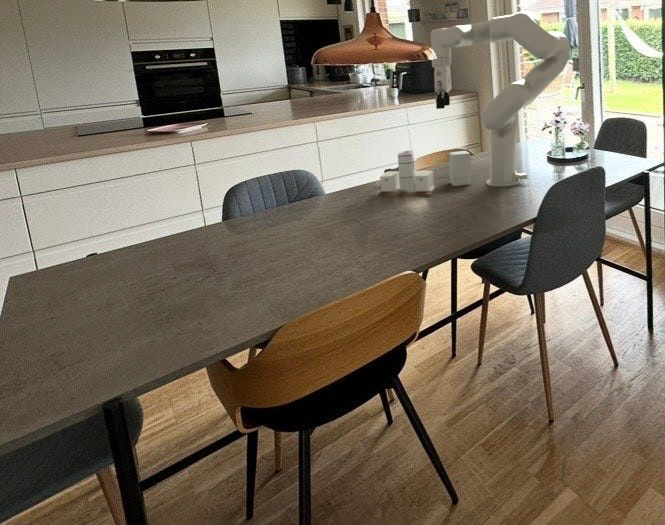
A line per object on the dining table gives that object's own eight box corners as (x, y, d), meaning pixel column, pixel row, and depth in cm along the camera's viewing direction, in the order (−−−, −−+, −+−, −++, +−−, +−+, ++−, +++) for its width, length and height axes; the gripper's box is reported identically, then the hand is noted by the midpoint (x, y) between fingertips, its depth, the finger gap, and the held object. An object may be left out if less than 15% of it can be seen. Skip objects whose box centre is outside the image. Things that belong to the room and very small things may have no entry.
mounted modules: (433, 185, 226) (432, 170, 223) (427, 191, 218) (427, 176, 215) (388, 185, 233) (387, 171, 231) (380, 191, 225) (379, 176, 223)
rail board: (437, 188, 227) (436, 184, 226) (430, 196, 217) (429, 192, 216) (387, 189, 235) (386, 185, 235) (378, 196, 225) (377, 192, 225)
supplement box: (471, 184, 228) (470, 153, 224) (452, 186, 228) (451, 155, 224) (467, 180, 235) (466, 150, 231) (449, 182, 235) (448, 152, 231)
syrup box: (414, 189, 222) (412, 152, 217) (399, 190, 223) (397, 153, 218) (415, 186, 227) (413, 150, 222) (401, 187, 229) (398, 151, 224)
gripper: (446, 62, 214) (447, 109, 219) (455, 60, 228) (456, 103, 234) (426, 64, 217) (428, 110, 222) (437, 62, 231) (438, 105, 237)
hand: (443, 107), depth 228 cm, fingers open, 9 cm apart
